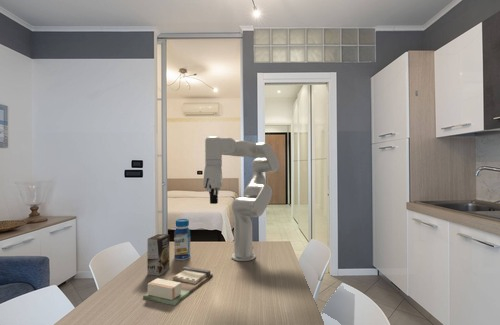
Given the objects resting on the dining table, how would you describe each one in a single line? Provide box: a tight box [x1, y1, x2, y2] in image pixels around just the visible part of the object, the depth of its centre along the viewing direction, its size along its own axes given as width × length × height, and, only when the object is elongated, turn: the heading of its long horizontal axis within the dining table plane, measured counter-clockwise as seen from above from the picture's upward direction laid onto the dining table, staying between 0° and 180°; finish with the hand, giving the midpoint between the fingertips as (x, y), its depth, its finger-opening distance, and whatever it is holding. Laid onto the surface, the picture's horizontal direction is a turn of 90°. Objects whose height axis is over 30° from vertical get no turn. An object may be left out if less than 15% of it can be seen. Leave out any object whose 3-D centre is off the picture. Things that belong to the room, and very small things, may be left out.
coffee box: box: [146, 233, 171, 277], centre depth 122 cm, size 9×6×16 cm
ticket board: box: [142, 266, 214, 306], centre depth 106 cm, size 26×14×3 cm, turn 158°
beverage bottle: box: [173, 218, 191, 261], centre depth 140 cm, size 8×8×20 cm
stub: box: [147, 277, 181, 300], centre depth 97 cm, size 5×11×4 cm, turn 68°
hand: (213, 203), depth 121 cm, fingers closed
